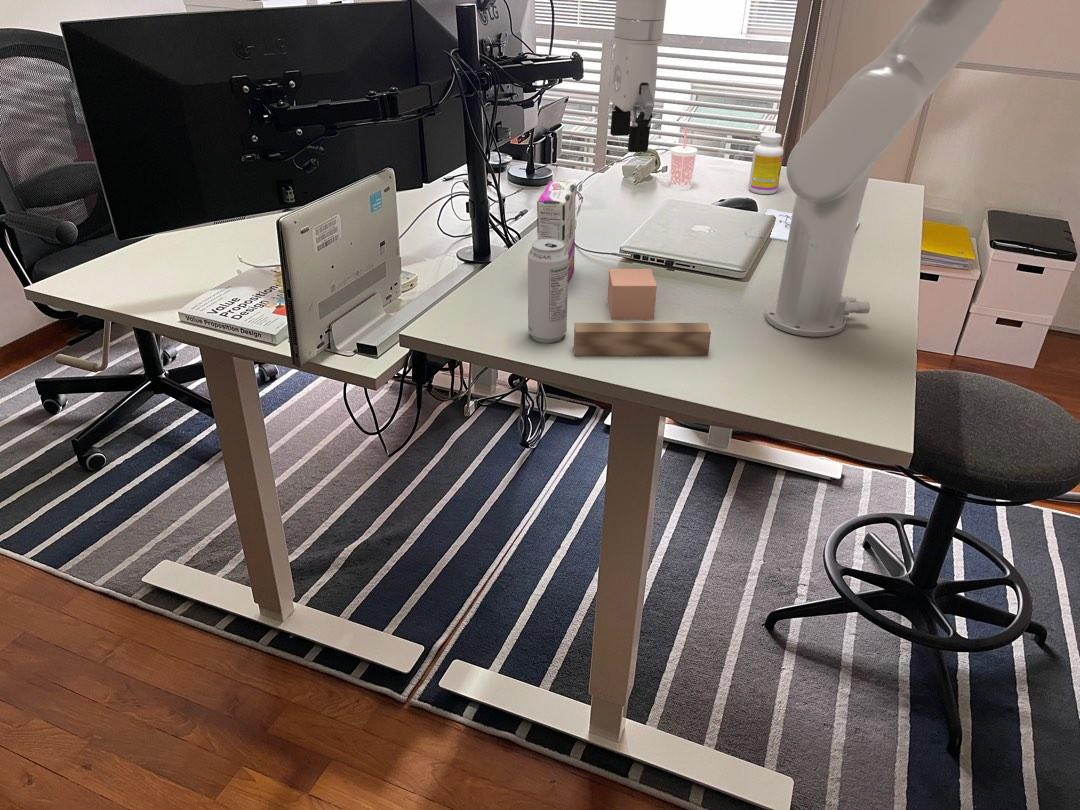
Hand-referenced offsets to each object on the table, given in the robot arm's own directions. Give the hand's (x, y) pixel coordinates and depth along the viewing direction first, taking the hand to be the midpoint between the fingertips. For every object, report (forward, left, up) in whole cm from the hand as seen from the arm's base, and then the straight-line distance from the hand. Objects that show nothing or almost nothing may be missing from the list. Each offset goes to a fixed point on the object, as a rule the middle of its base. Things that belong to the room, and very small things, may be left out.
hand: (628, 143), depth 136 cm
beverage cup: (-19, -54, -24) cm, 62 cm away
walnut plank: (0, +28, -24) cm, 37 cm away
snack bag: (-40, -26, -25) cm, 54 cm away
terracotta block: (0, +13, -24) cm, 27 cm away
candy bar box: (+12, +1, -24) cm, 27 cm away
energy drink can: (+14, +23, -24) cm, 36 cm away
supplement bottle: (-38, -52, -24) cm, 69 cm away
